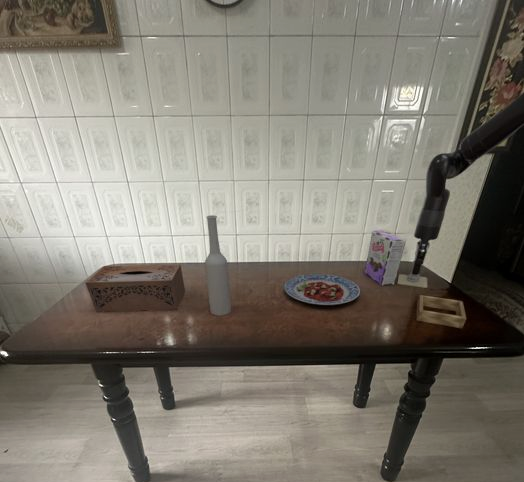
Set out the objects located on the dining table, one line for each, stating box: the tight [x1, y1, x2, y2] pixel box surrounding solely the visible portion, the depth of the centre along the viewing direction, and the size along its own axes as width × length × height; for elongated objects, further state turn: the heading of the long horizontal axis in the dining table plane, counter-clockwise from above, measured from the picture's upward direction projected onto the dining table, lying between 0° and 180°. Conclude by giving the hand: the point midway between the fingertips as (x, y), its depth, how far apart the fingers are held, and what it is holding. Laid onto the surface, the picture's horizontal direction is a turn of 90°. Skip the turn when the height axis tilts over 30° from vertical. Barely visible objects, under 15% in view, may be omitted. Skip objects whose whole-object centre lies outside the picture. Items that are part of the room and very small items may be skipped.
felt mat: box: [397, 273, 428, 289], centre depth 114 cm, size 10×10×1 cm
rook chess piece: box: [407, 259, 422, 282], centre depth 111 cm, size 4×4×8 cm
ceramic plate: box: [284, 273, 361, 306], centre depth 105 cm, size 26×26×3 cm
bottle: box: [204, 214, 232, 316], centre depth 88 cm, size 7×7×28 cm
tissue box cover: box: [85, 263, 186, 313], centre depth 99 cm, size 26×14×10 cm, turn 92°
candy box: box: [363, 229, 407, 286], centre depth 111 cm, size 14×6×16 cm, turn 10°
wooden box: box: [415, 294, 467, 329], centre depth 91 cm, size 12×12×3 cm
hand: (415, 272), depth 112 cm, fingers closed on rook chess piece, 3 cm apart
